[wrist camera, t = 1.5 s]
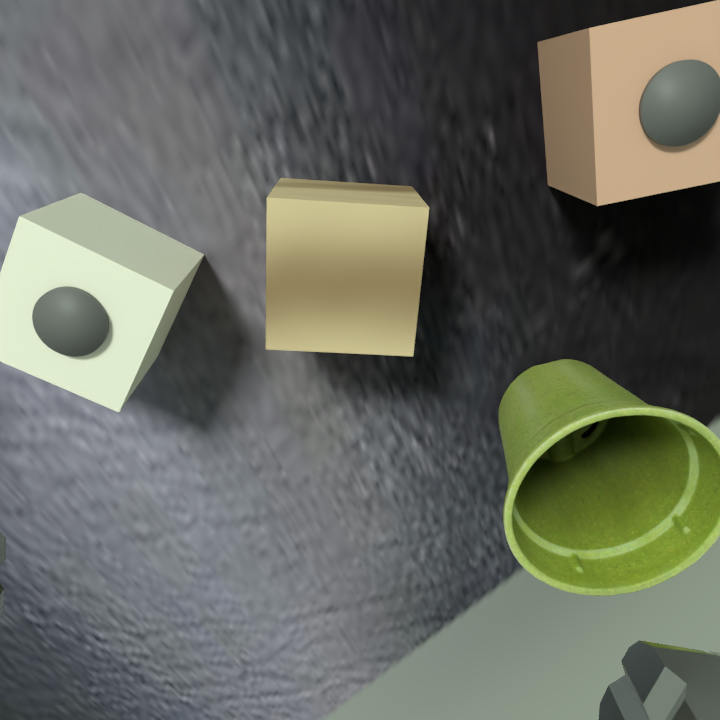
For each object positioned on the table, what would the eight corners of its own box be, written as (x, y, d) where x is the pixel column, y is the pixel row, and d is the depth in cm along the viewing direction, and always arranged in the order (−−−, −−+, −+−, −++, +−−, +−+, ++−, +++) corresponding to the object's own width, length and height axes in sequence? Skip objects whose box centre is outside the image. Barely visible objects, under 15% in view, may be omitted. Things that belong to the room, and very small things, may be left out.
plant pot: (573, 507, 36) (640, 625, 28) (433, 443, 34) (462, 551, 26) (676, 376, 33) (785, 466, 25) (529, 297, 31) (595, 368, 23)
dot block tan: (537, 42, 26) (592, 27, 20) (678, 11, 26) (776, -13, 20) (547, 185, 29) (600, 207, 23) (677, 158, 28) (764, 173, 23)
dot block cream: (81, 192, 28) (15, 217, 22) (204, 254, 29) (171, 293, 24) (41, 303, 30) (-31, 353, 24) (157, 356, 31) (116, 415, 26)
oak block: (280, 177, 28) (266, 197, 23) (411, 186, 28) (429, 207, 23) (278, 303, 30) (265, 349, 25) (399, 309, 31) (413, 356, 25)
